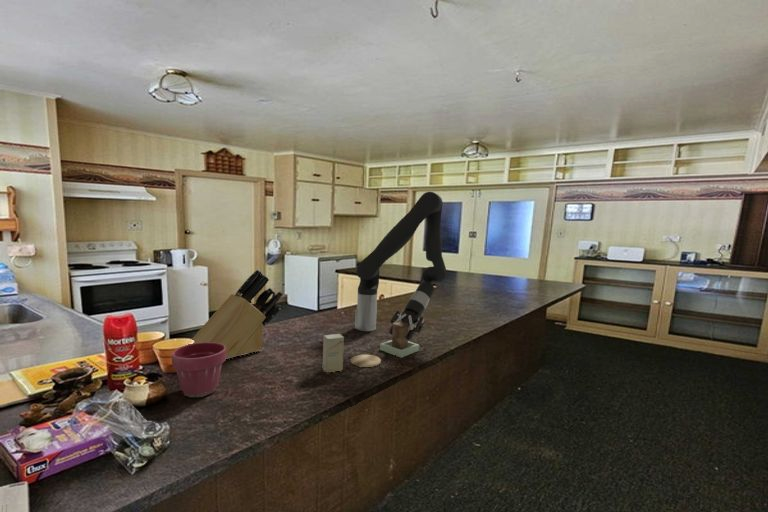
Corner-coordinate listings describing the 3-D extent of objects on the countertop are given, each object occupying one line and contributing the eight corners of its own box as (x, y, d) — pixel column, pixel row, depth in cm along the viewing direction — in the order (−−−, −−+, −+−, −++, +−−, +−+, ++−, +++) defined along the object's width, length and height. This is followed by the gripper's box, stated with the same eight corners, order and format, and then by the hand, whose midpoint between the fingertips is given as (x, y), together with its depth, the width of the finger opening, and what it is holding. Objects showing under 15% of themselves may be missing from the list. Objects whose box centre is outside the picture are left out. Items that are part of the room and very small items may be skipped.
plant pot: (207, 376, 119) (207, 338, 118) (236, 388, 112) (236, 347, 111) (162, 393, 107) (161, 351, 105) (191, 408, 100) (190, 362, 98)
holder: (380, 349, 149) (380, 343, 148) (398, 343, 157) (398, 337, 157) (401, 357, 141) (401, 351, 141) (419, 350, 149) (419, 344, 149)
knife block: (284, 346, 148) (285, 270, 145) (191, 371, 123) (190, 279, 119) (270, 339, 156) (270, 267, 153) (179, 361, 130) (177, 274, 127)
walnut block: (391, 350, 149) (392, 323, 148) (398, 347, 152) (400, 321, 151) (400, 353, 146) (401, 326, 145) (407, 350, 149) (408, 324, 148)
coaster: (345, 364, 133) (345, 362, 133) (359, 354, 143) (359, 352, 143) (373, 370, 129) (373, 368, 129) (385, 359, 139) (385, 357, 139)
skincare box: (326, 374, 124) (326, 339, 123) (322, 369, 128) (322, 335, 127) (343, 371, 127) (344, 337, 126) (339, 366, 131) (339, 333, 130)
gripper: (400, 296, 157) (381, 327, 150) (427, 302, 148) (408, 336, 141) (407, 306, 162) (389, 337, 155) (434, 312, 152) (416, 346, 145)
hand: (398, 336), depth 148 cm, fingers open, 8 cm apart
